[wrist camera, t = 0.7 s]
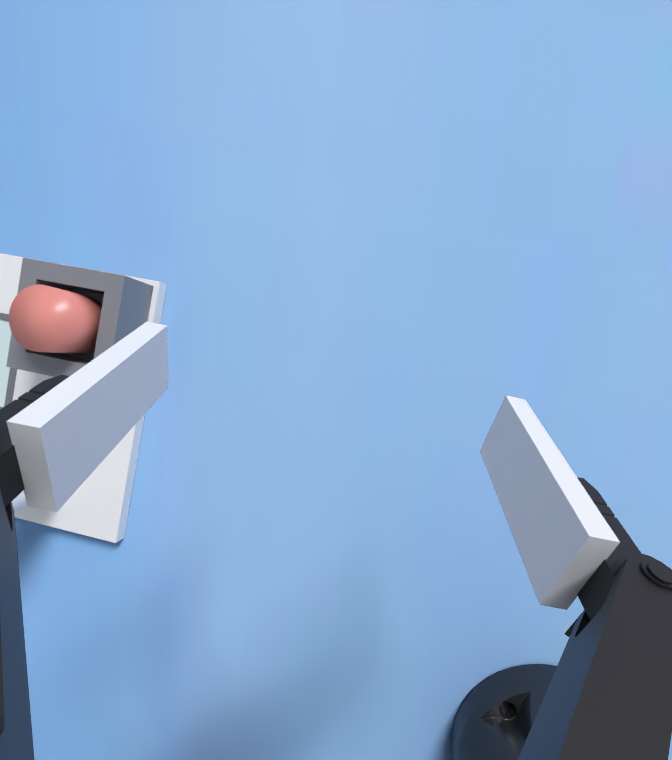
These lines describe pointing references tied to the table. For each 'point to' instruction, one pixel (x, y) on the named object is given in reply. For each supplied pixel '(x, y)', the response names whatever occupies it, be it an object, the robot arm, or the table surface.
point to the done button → (55, 320)
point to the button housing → (117, 320)
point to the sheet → (116, 472)
